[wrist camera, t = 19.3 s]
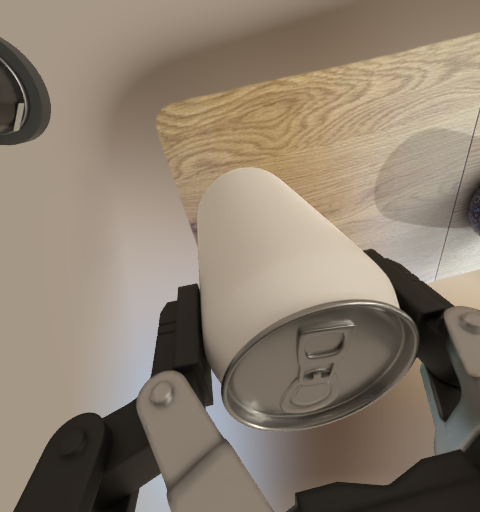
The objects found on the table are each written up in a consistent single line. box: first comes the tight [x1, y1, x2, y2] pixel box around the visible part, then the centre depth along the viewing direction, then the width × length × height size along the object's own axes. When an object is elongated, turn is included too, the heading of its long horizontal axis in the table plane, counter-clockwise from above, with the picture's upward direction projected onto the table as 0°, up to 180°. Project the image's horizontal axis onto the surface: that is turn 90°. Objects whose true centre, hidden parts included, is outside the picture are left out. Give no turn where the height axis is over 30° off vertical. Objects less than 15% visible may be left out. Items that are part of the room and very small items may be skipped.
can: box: [197, 167, 420, 432], centre depth 12 cm, size 6×6×12 cm
